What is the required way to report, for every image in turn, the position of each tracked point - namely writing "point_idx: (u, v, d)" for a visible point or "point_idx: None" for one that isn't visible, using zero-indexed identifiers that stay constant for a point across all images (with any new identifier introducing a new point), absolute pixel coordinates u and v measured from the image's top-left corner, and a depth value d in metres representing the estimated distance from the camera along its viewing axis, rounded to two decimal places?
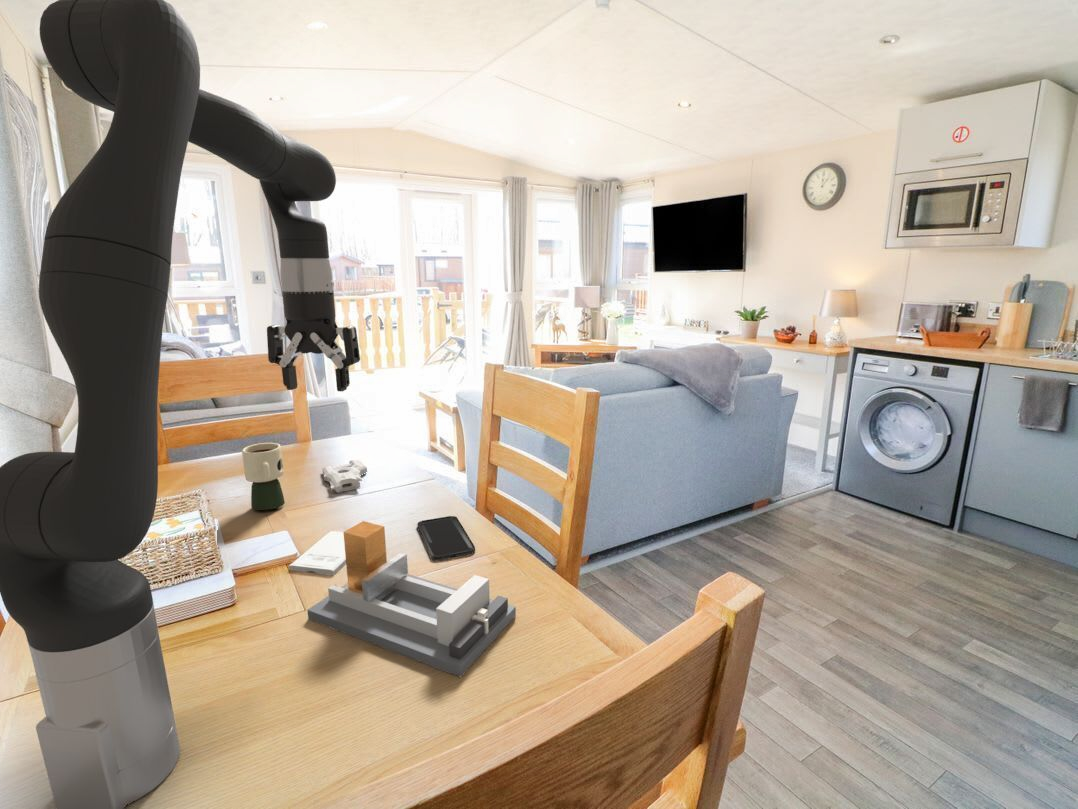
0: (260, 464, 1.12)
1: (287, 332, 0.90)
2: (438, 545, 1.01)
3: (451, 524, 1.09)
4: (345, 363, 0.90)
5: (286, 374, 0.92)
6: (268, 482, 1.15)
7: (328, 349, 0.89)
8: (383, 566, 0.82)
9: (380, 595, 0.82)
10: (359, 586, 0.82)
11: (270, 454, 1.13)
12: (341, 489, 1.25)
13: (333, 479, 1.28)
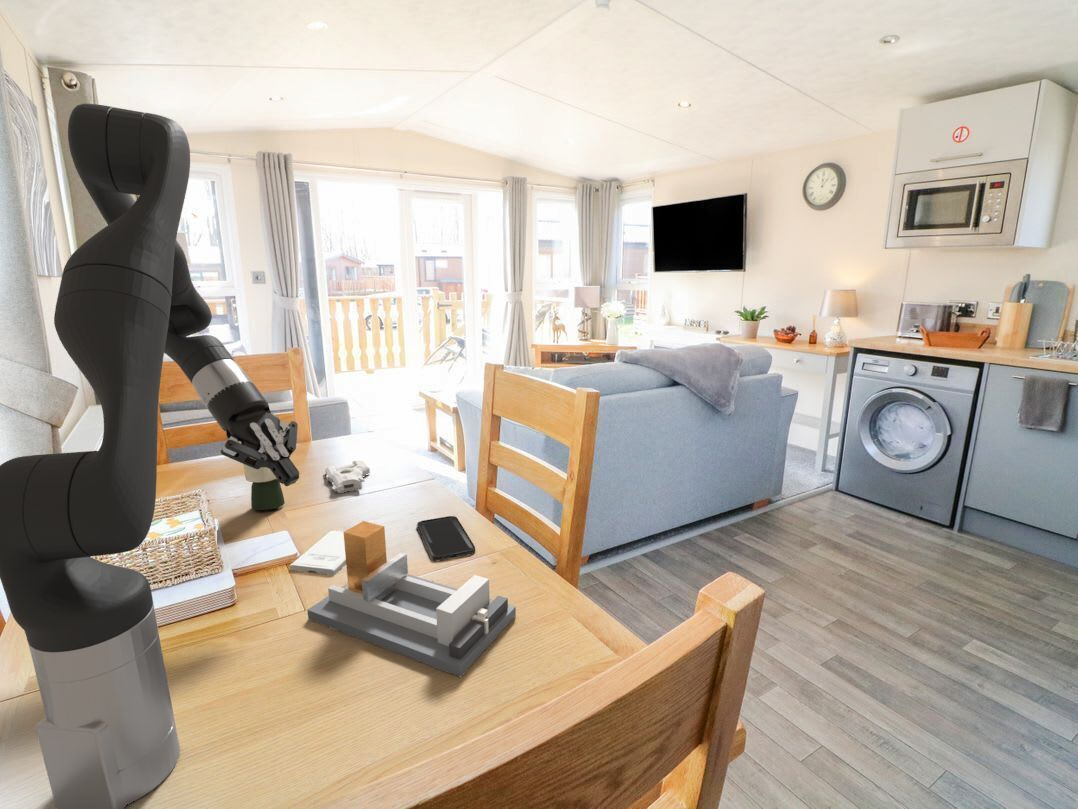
0: None
1: (239, 431, 0.85)
2: (438, 545, 1.01)
3: (451, 524, 1.09)
4: None
5: (283, 465, 0.86)
6: (268, 482, 1.15)
7: (279, 436, 0.88)
8: (383, 566, 0.82)
9: (380, 595, 0.82)
10: (359, 586, 0.82)
11: None
12: (343, 490, 1.25)
13: (335, 479, 1.27)
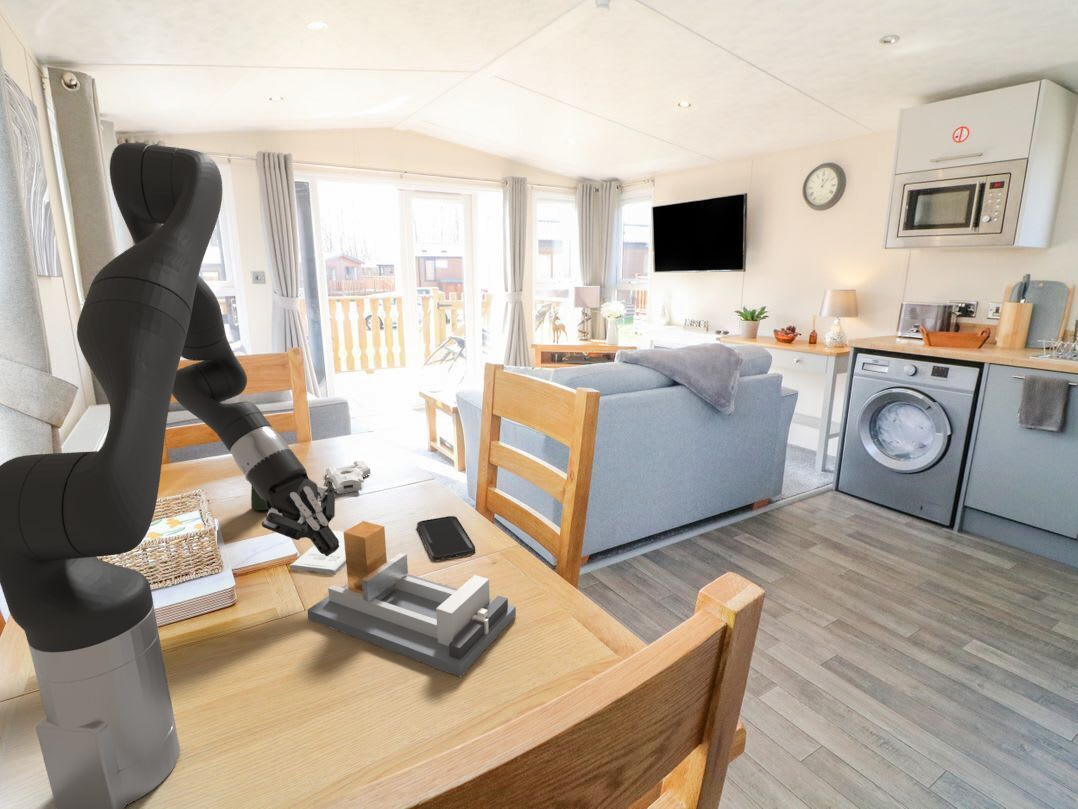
0: None
1: (279, 502, 0.84)
2: (439, 545, 1.01)
3: (451, 524, 1.09)
4: None
5: (324, 535, 0.86)
6: None
7: (318, 504, 0.88)
8: (383, 566, 0.82)
9: (380, 595, 0.82)
10: (359, 586, 0.82)
11: None
12: (342, 490, 1.24)
13: (335, 480, 1.27)
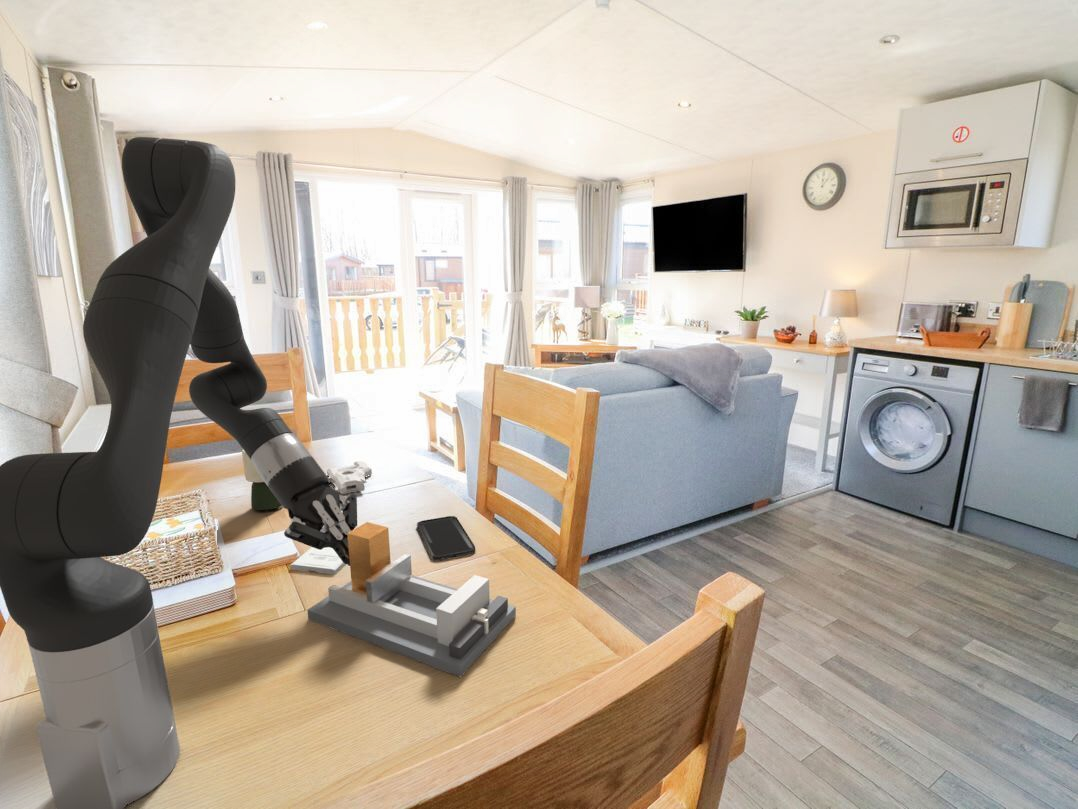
0: None
1: (302, 510, 0.82)
2: (439, 545, 1.01)
3: (451, 524, 1.09)
4: None
5: (347, 545, 0.83)
6: None
7: (341, 513, 0.86)
8: (387, 567, 0.81)
9: (384, 596, 0.82)
10: (363, 587, 0.82)
11: None
12: (345, 491, 1.24)
13: (337, 480, 1.27)
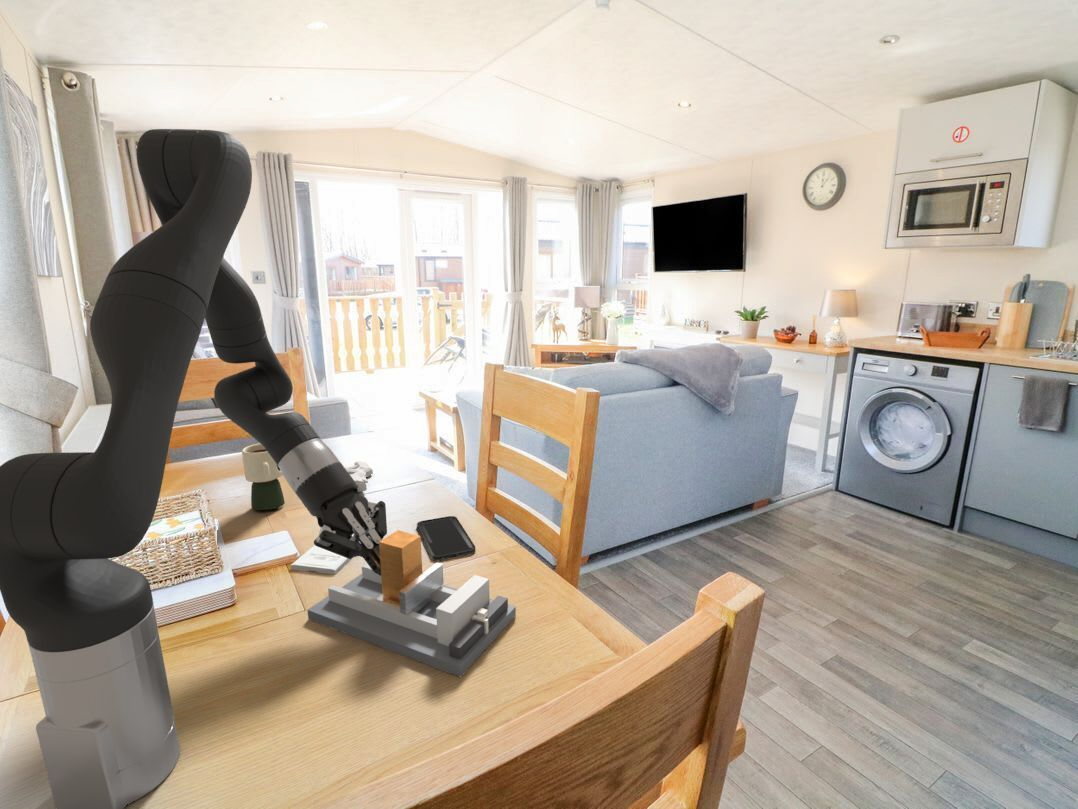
0: (260, 464, 1.12)
1: (332, 518, 0.80)
2: (439, 545, 1.01)
3: (451, 524, 1.09)
4: None
5: (378, 554, 0.81)
6: (268, 482, 1.15)
7: (370, 521, 0.83)
8: (420, 577, 0.79)
9: (416, 607, 0.79)
10: (395, 598, 0.79)
11: None
12: None
13: None
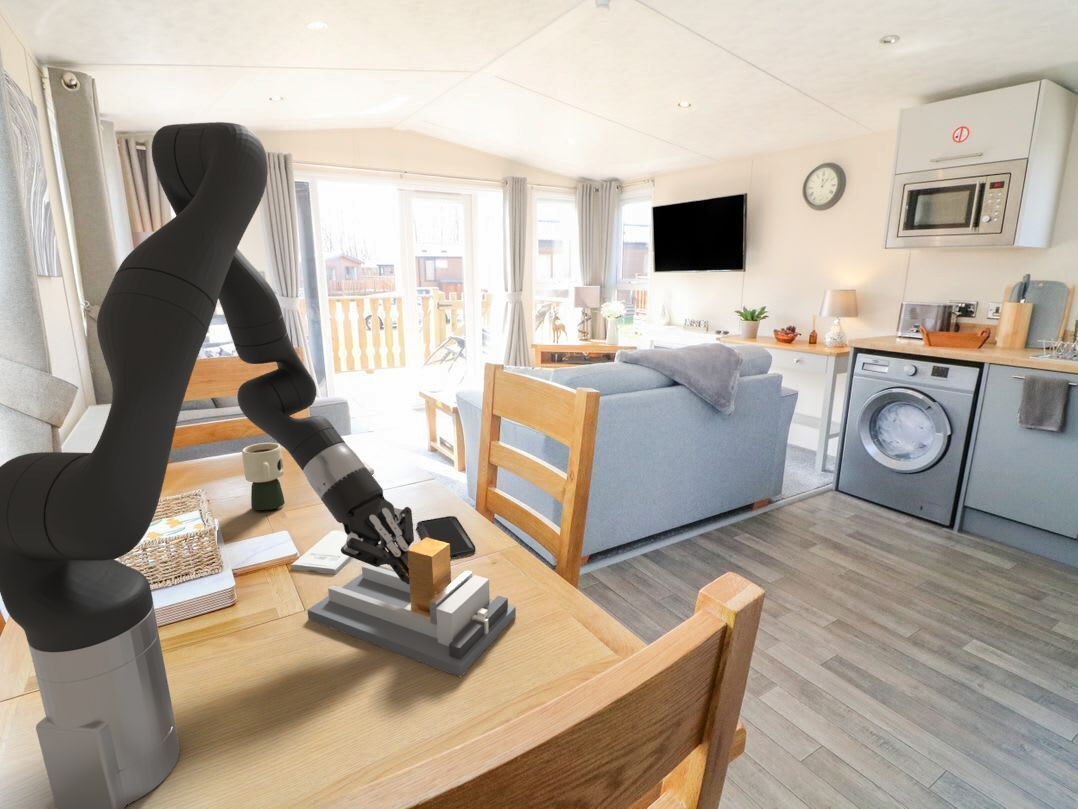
0: (260, 464, 1.12)
1: (359, 526, 0.77)
2: None
3: (451, 524, 1.09)
4: None
5: (405, 562, 0.79)
6: (268, 482, 1.15)
7: (397, 528, 0.81)
8: (449, 586, 0.77)
9: None
10: (424, 607, 0.77)
11: (270, 454, 1.13)
12: None
13: None
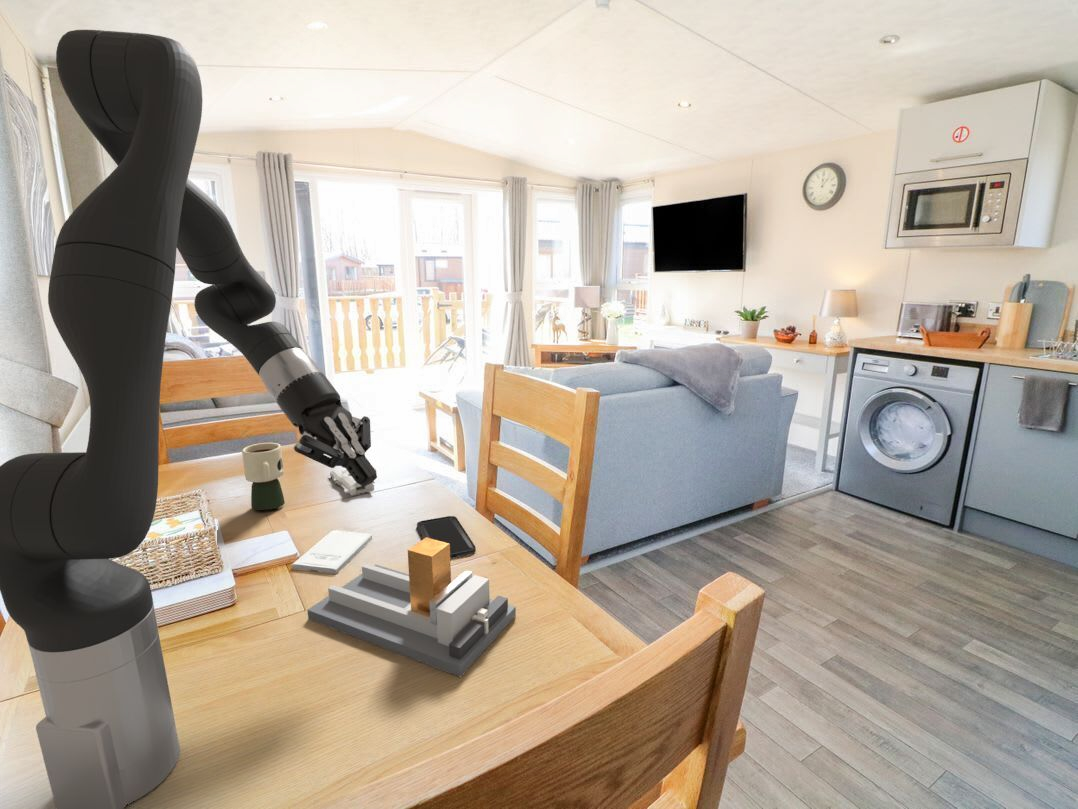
0: (260, 464, 1.12)
1: (313, 426, 0.77)
2: None
3: (451, 524, 1.09)
4: None
5: (360, 464, 0.78)
6: (268, 482, 1.15)
7: (354, 432, 0.81)
8: (449, 586, 0.77)
9: None
10: (424, 607, 0.77)
11: (270, 454, 1.13)
12: (355, 492, 1.23)
13: (345, 482, 1.26)
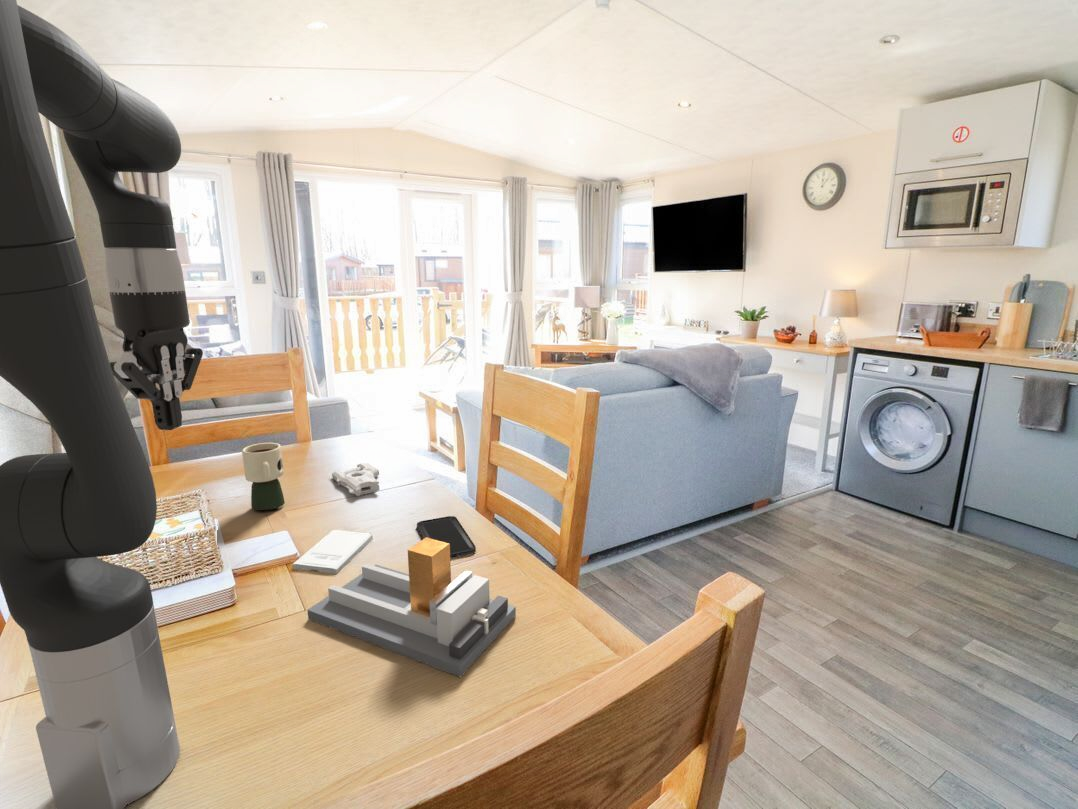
0: (260, 464, 1.12)
1: (144, 351, 0.66)
2: None
3: (451, 524, 1.09)
4: None
5: (172, 409, 0.70)
6: (268, 482, 1.15)
7: (182, 370, 0.71)
8: (449, 586, 0.77)
9: None
10: (424, 607, 0.77)
11: (270, 454, 1.13)
12: (360, 493, 1.23)
13: (349, 483, 1.25)
